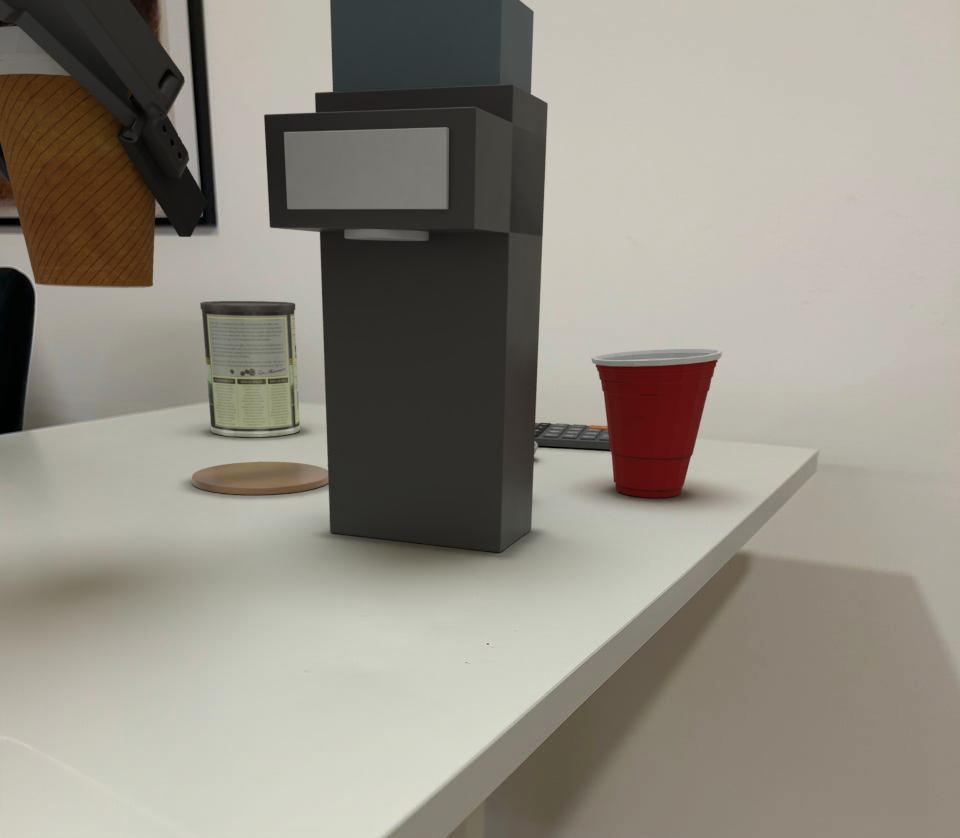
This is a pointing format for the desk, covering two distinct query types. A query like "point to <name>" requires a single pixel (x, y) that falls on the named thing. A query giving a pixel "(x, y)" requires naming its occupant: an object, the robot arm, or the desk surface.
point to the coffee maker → (424, 264)
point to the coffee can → (251, 367)
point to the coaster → (260, 478)
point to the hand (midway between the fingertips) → (127, 218)
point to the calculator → (572, 435)
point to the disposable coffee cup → (71, 176)
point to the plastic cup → (654, 415)
